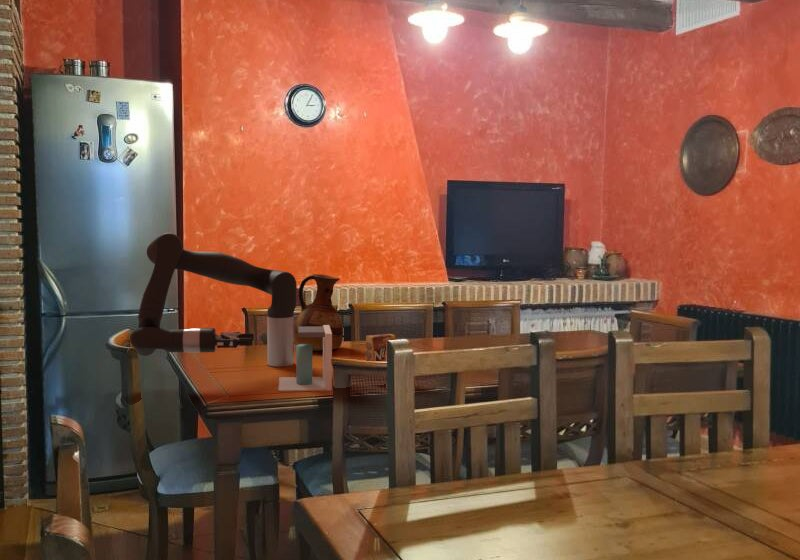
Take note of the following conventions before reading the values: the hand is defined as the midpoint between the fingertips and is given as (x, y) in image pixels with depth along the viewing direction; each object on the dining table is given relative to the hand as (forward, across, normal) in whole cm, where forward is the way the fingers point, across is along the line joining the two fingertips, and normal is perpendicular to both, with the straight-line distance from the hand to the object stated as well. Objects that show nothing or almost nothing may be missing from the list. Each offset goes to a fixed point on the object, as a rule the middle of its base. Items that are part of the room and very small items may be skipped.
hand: (253, 339), depth 237 cm
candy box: (+40, +2, +15) cm, 43 cm away
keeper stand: (+16, 0, +15) cm, 22 cm away
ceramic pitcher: (+22, +61, +15) cm, 66 cm away
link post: (+16, 0, +14) cm, 21 cm away
